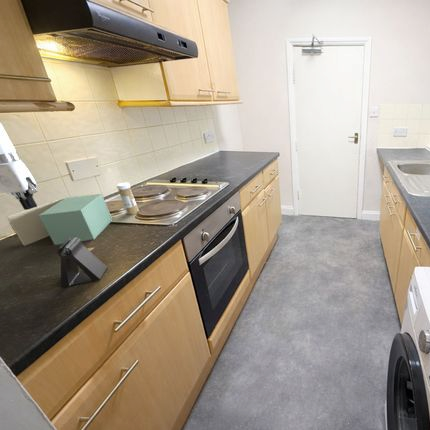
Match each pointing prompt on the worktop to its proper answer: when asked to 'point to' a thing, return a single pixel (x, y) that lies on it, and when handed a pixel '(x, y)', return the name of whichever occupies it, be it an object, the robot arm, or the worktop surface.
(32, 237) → the door
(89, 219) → the teal rectangular block
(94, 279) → the phone stand
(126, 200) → the sprinkles bottle
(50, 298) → the worktop surface
